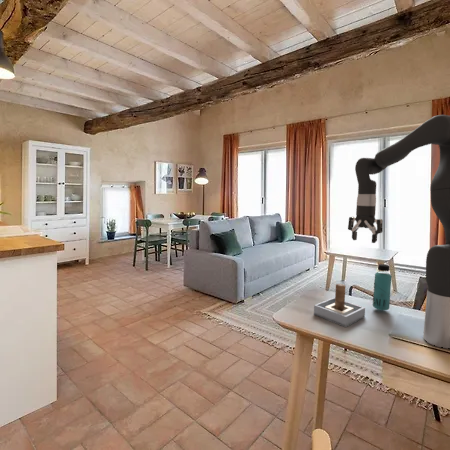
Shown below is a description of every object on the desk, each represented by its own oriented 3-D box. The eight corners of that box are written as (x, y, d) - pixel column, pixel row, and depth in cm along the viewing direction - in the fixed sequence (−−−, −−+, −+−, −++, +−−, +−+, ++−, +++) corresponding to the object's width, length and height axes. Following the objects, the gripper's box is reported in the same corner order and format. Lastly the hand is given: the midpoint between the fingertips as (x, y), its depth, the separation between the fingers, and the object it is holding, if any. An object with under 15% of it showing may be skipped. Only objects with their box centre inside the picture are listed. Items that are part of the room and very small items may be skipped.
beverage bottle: (385, 307, 127) (388, 262, 125) (392, 314, 121) (396, 267, 118) (369, 307, 128) (372, 262, 125) (375, 313, 121) (379, 266, 119)
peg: (345, 314, 119) (347, 285, 117) (340, 316, 117) (342, 287, 115) (337, 311, 122) (339, 283, 120) (332, 313, 120) (334, 285, 118)
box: (364, 317, 118) (365, 307, 118) (345, 327, 110) (346, 317, 109) (333, 306, 129) (333, 297, 129) (313, 314, 121) (314, 305, 120)
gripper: (387, 205, 124) (384, 242, 127) (355, 203, 136) (353, 238, 138) (378, 205, 120) (376, 244, 122) (346, 204, 131) (344, 240, 133)
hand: (363, 241), depth 130 cm, fingers open, 8 cm apart
